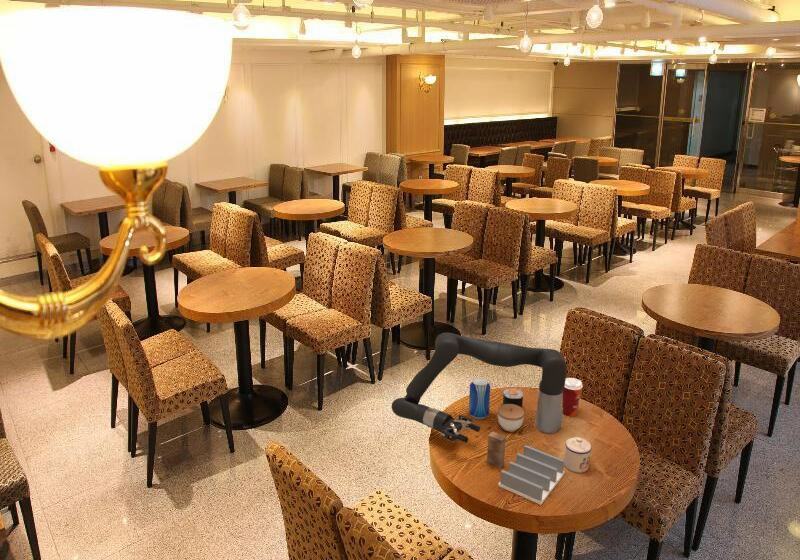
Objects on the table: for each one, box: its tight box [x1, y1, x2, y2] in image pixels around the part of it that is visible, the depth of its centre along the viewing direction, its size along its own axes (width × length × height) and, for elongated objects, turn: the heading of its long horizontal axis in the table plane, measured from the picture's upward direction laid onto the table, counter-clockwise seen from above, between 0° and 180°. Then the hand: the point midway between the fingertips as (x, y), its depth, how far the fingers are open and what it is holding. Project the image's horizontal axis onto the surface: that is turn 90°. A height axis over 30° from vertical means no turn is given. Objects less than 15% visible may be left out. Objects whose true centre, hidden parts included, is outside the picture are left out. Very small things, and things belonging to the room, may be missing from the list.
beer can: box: [468, 377, 491, 420], centre depth 245 cm, size 8×8×16 cm
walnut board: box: [486, 431, 507, 469], centre depth 215 cm, size 6×3×12 cm, turn 53°
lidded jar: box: [497, 404, 525, 433], centre depth 238 cm, size 11×11×9 cm
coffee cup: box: [561, 377, 583, 418], centre depth 246 cm, size 8×8×15 cm
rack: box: [498, 445, 566, 506], centre depth 207 cm, size 16×20×6 cm
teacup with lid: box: [563, 436, 592, 474], centre depth 215 cm, size 12×9×12 cm
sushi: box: [502, 388, 524, 409], centre depth 252 cm, size 8×8×8 cm
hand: (473, 434), depth 219 cm, fingers open, 8 cm apart
